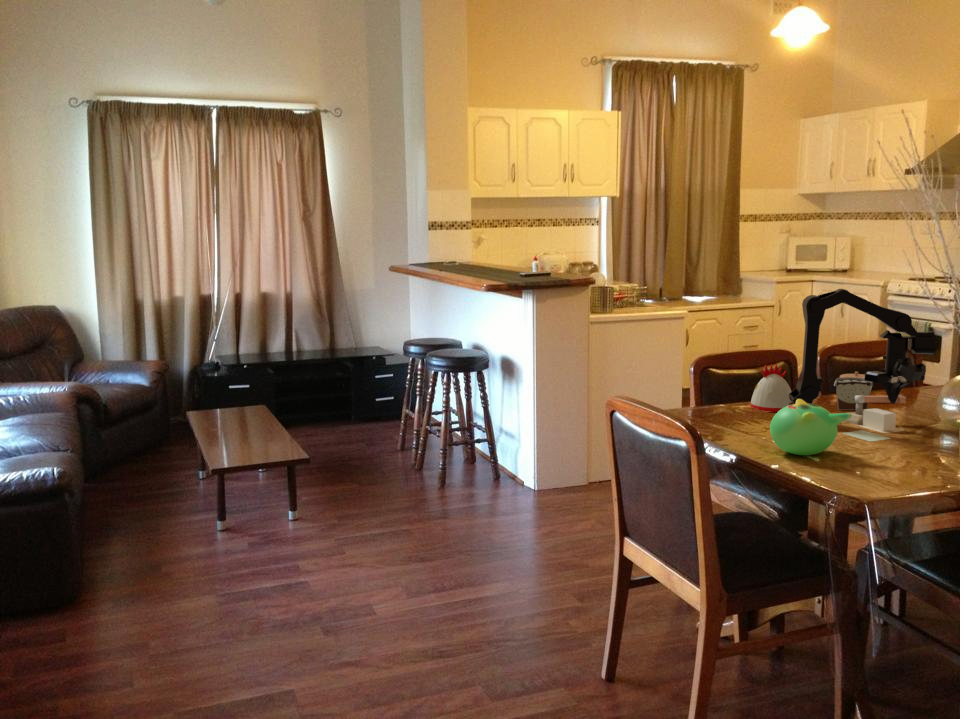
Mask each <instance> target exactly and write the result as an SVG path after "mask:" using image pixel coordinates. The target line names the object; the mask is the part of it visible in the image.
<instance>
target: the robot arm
mask: <svg viewBox="0 0 964 719" xmlns="http://www.w3.org/2000/svg"><path fill="white" fill-rule="evenodd" d="M841 304H845V305H848V306H850V307H852V308H855V309H856V310H859V311H861V312H863V313H865V314H867V315H869V316H872V317H875V319H877V320H878V321H880V322H881V323H882V324H884V325H885V326H887V327H889V328H890V329H891V330H893V331H896V332H891V331H890V330H888V329H886V330H885V331H884V332H883V333H881V334H880V335H879V337H880V338H882V339H886V340H887V341H886V353H885V355H882V359H883V360H885V365H884V366H885V368H881V371H877V370H873V371H871V370H870V371H866V372H865V373H864V375H865V381H870V382H873V384H874V383H876V384H881V385H882V387H883V389H884V390H885V392H886V396H888V398H889V400H890V402H891V403H890V404H892V405H894V404H896V403H895V402H896V400H897V398H898V395H900V392H901V391H902V390H903V388H904V387H906V386H907V385H909V384H910V383H911V382H913V381H914V382H915V381H917V382H919V381H925V378H926V372H927V365H926V364H924V363H918V364H915V363H913V364H912V360H911V357H910V356H908V351H910V352H911V354H914V355H915V354H916V355H934V354H935V352H936V350H937V342H936V337H935V331H931V330H930V331H917V330H916V328H915V327H914V326H913V321H912V320H913V319H912V317H911V315H909V314H908V313H905V312H902V311H900V310H895V309H892V308H888V307H883V306H881V305H878V304H876V303H874V302H872V301H869V300H867V299H865V298H863V297H860V296H859V295H856V294H854V293H852V292H850V291H849V290H848V289H844V288H838V289H836V290H834V291H830V292H825V293H822V294H818V295H814V294H809V295H807V296H806V297H805V298H804V299H803V300H802V305H801V306H802V307H801V308H802V313H803V314H802V315H803V319H804V324H805V325H804V337H803V338H804V340H803V350H802V352H803V353H802V368H801V371H800V373H799V375H798V378H797V382H796V386H795V388H794V389H793V390H791V393H790V394H789V398H790V401H792V402H791V403H789V405H792V404H795V403H796V400H797V399H802V400H804V401H805V402H806V403H809V404H813V402H814V400H816V399H817V398H818V397H819V396H820V392H823V391H822V383H823V378H822V377H821V376H820V375H819V374H818V373H817V366H818V353H819V352H818V351H819V339H820V328H821V324H822V322H823V319H824V317H825V311H826V310H828V309H832V308H834V307H836V306H838V305H841ZM902 333H903V334H906V335H907V336H906V335H902Z"/></svg>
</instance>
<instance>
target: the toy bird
mask: <svg viewBox="0 0 964 719" xmlns="http://www.w3.org/2000/svg"><path fill="white" fill-rule="evenodd" d="M851 416H852V414H851V412H841V413H839V412H838V413H831V411H829V410H827V409H826V408H824V407H823V406H820V405H817V404H814V403H812V404H809V403H806V402H805V401H804V400H802V399H797V400H796V403H795V404H792V405H788V406H786V407H784V408H782V409H781V410H779V411H778V412H777V413H774V415H773V417H772V419H771V421H770V423H769V424H770V425H769V432H770V437H771V439H772V441H773V443H774V444H775V445H776V446H777V447H778V448H779V449H780V450H782V451H784V452H786V453H789V454H793V455H796V456H812V455H817V454H819V453H822V452H824V451H825V450H827V449H828V448H829V447H830V446H832V444H833V443H834V442H835V440H836V438H837V436H838V425H839V424H841V423H843V422H845V420H847V419H849V418H850V417H851Z"/></svg>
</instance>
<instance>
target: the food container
mask: <svg viewBox="0 0 964 719" xmlns="http://www.w3.org/2000/svg"><path fill="white" fill-rule="evenodd" d="M833 386H834V387H835V391H836V392H835V393H836V409H837V410H838V411H856V402H855V396H856V395H862V396H871V391H872V388H871V386H872V387H874V382H870V381H865V378H856V377H843V378H840V377H838V378H836V379H835V381H834V384H833ZM870 390H871V391H870ZM868 406H869V402H864V403H863V411H864V409H869V408H868Z"/></svg>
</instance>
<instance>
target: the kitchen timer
mask: <svg viewBox="0 0 964 719" xmlns="http://www.w3.org/2000/svg"><path fill="white" fill-rule="evenodd" d="M782 369H783V368H782V367H779V369H778V365H777V364H775V366H774V368H773V364H770V366H769V369H768V366H767V364H765V365H764V370H763V369H762V368H760V372H761V374H762V376H763V377H762V378H761V379H760V380H759V381H758V383H757V384H756V385H755V386H754V390H753V393H752V396H751V400H750V408H751V407H753V408H755V409H759V410H764V411H771V412H778V411H779V410H781V409H782V408H784V407H786V406H788V405H789V403H791V402H792V401H790V398H789V394H790V393H791V392H792V390H791V387H790V385H789V384H788V383H789V382H787V381H786V379H784V377H785V375H786V373H787V372H786V370H785V371H784V372H783V373H782ZM781 373H782V374H781ZM771 412H770V413H771Z"/></svg>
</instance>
